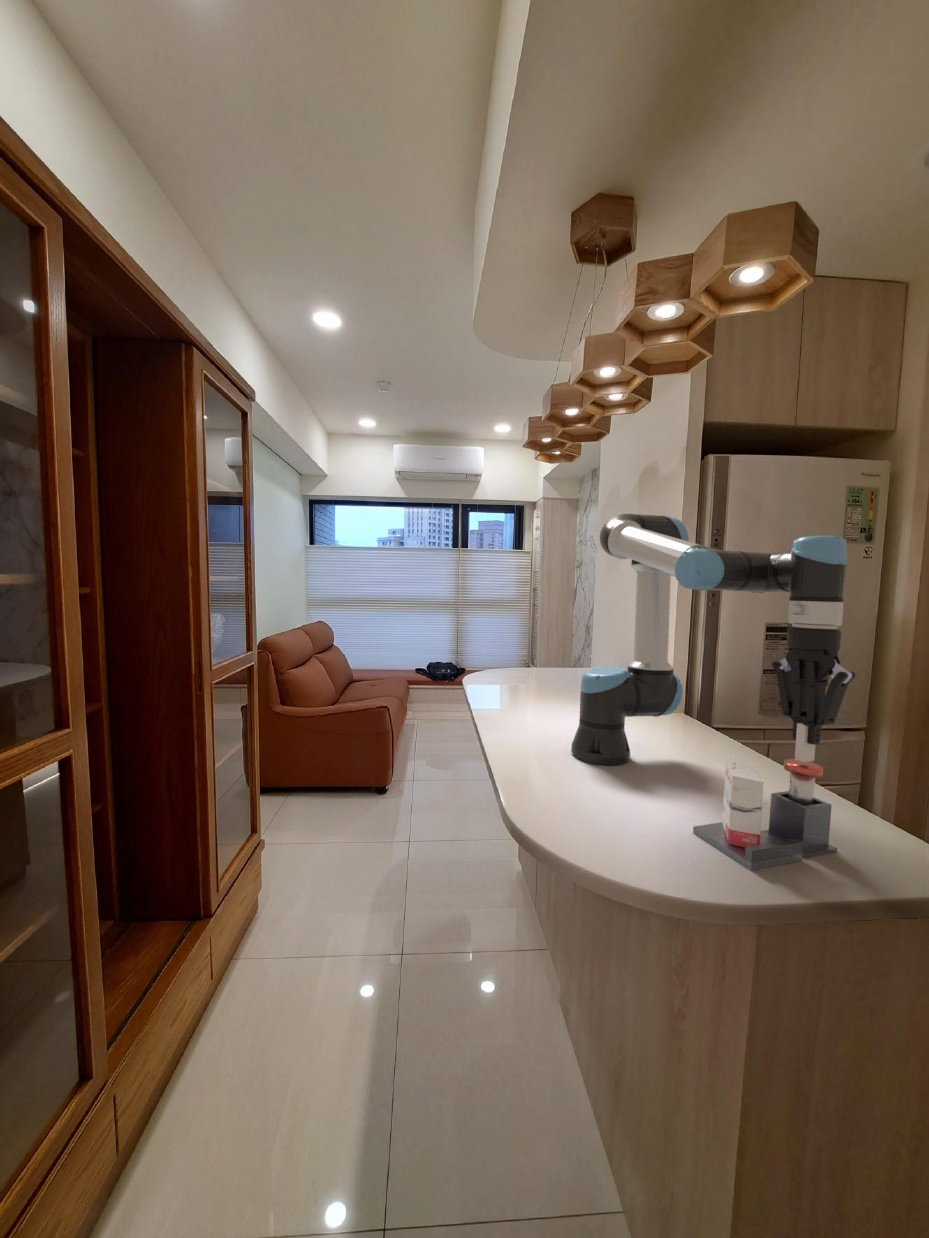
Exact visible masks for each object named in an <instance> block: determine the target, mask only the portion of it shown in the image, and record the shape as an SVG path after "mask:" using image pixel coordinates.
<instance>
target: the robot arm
mask: <svg viewBox="0 0 929 1238" xmlns="http://www.w3.org/2000/svg"><path fill="white" fill-rule="evenodd" d="M688 533H689V532H688V530H687V527H686V526H685V524H684V523H683V522H682V521H681V520H680V519H679V518H676V517H672V516H671V517H670V516H666V515H651V514H650V515H649V514H638V513H637V514H635V513H622V514H621V513H620V514H617V515H615V516H613V517H611V518H609V519H608V520H607V521H606V522H605V523H604V524H603V526H602V527H601V530H600V533H599V543H600V547H601V548H602V550H604V552H605V553H606V554H608V555H610V556H612V557H615V558H616V559H619V560H628V559H630V560H631V562H630V563H631V567H632V569H633V570H634V571H636V587H635V612H634V613H635V618H634V640H633V641H634V642H633V643H634V645H633V647H634V648H633V659H632V660H631V662H629V663H628V664H627V669H625V668H623V667H617V666H610V667H609V666H604V667H603V666H601V667H594V668H590V669H587V670H586V671H585V672H584V673H582V676H581V680H580V681H581V682H580V687H579V689H580V695H579V696H580V699H579V702H580V703H579V721H578V727H577V729H576V732H575V734H574V737H573V739H572V740H573V741H572V742H571V750H570V751H571V752H572V753H573V755H575V756H576V757H578V758H579V759H578V758H577V759H578V760H580V759H582V760H581V761H583V760H584V761H583V762H586V763H590V764H594V765H603V766H620V765H624V764H627V763H628V762H630V760H631V750H630V746H629V742H628V738H627V735H626V730H625V724H626V723H625V721H626V718H627V717H629V718H630V717H660V716H669V715H671V714H673V713H674V712H675V711H677V710H678V708H679V707H680V706H681V702H682V700H683V695H684V694H683V693H684V691H683V684H682V683H681V679H680V677H679V676H678V675H676V674H675V673H674V667H673V666H672V665H671V664H670V663H669V661H668V659H669V658H668V657H669V656H668V655H669V635H670V634H669V631H670V609H671V606H670V605H671V584H672V583H671V582H672V579H671V578H672V577H674V578H675V579H676V580H677V582H679V585H680V586H681V587H682V588H685V589H690V590H697V591H701V592H702V591H731V592H733V591H734V592H749V593H752V594H753V593H758V594H762V593H789V604H788V605H789V606H788V617H787V618H788V619H787V622H788V623H789V624H791V625H792V626H789V627H788V628H786V629H787V632H786V646H787V648H788V650H787V651H786V654H785V657H784V658H782V659H781V660H779V661H773V662H772V663H771V666H772V668H773V670H774V672H775V674H776V679H777V687H778V692H779V699H780V705H781V711H782V712H781V713H782V715H784V716H787V717H788V718H791V720H792V721H793V724H792V739H794V740H795V749H794V751H795V752H794V759H795V760H798V761H801V762H815V756H816V755H815V754H816V745H819V744H820V742H821V731H822V727H823V726H827V725H829V726H830V725H833V724H835V722H836V718H837V716H838V714H839V711H840V708H841V706H842V702H843V700H844V697H845V694H846V691H847V689H848V685H850V683H852V681H853V680H854V679H855V677H856V673H855V672H854V671H848V670H847V669H846V668H844V667H843V666H841V660H840V658H839V655H838V654H839V651H840V649H841V644H842V643H841V639H842V631H841V629H838V627H840V626H842V625H843V616H844V615H843V614H844V590H845V581H846V575H847V574H846V573H847V565H848V556H847V555H848V551H847V550H848V549H847V548H848V547H847V546H848V545H847V544H848V543H847V541H846V539H845V538H844V537H841V536H837V535H812V536H811V535H810V536H803V537H798V538H796V539H795V540H794V541H793V545H792V548H791V550H788V551H781V552H780V551H779V552H758V551H739V550H725V549H724V550H723V549H722V550H721V549H715V548H712V547H708V546H706V545H705V546H704V545H702V544H698V543H695V542H692V541H690V539H689V534H688ZM830 677H831V681H830V682H829V678H830ZM571 752H570V753H571ZM572 753H571V754H572ZM573 755H572V756H573ZM575 756H574V757H575ZM576 757H575V758H576Z"/></svg>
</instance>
